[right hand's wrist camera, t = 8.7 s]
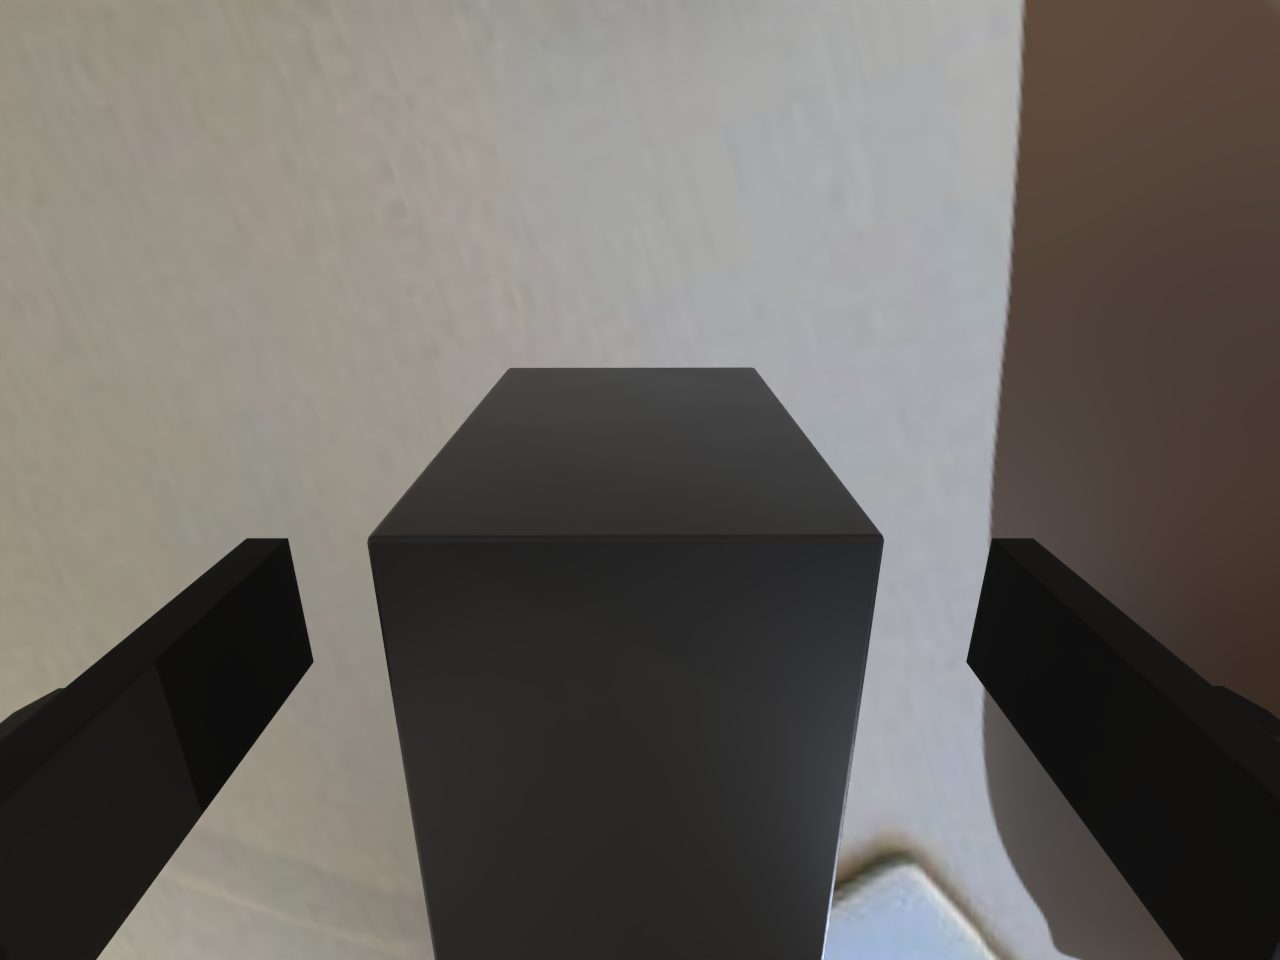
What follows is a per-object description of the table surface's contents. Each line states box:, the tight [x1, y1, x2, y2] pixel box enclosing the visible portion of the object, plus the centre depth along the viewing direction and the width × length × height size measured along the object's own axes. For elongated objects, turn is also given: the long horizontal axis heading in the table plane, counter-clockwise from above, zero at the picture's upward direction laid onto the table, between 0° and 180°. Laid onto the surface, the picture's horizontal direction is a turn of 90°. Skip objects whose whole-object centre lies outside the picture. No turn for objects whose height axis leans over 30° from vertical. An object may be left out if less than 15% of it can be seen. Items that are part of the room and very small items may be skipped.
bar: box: [367, 368, 884, 960], centre depth 16 cm, size 24×6×9 cm, turn 0°
